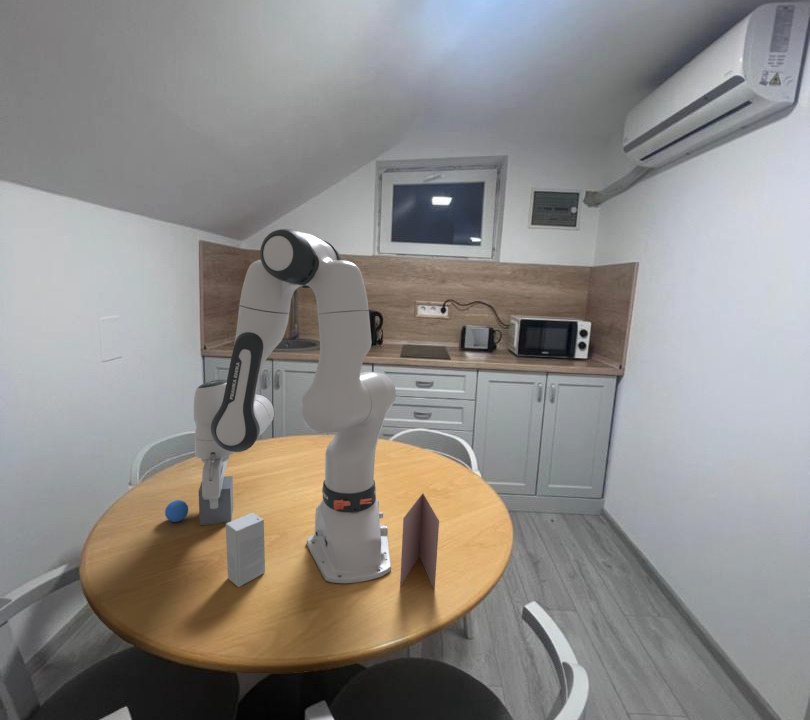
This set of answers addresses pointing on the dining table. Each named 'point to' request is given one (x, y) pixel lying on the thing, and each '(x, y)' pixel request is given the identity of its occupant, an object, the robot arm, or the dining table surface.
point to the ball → (176, 511)
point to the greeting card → (420, 539)
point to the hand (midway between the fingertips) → (216, 498)
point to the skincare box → (245, 548)
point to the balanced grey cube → (224, 507)
